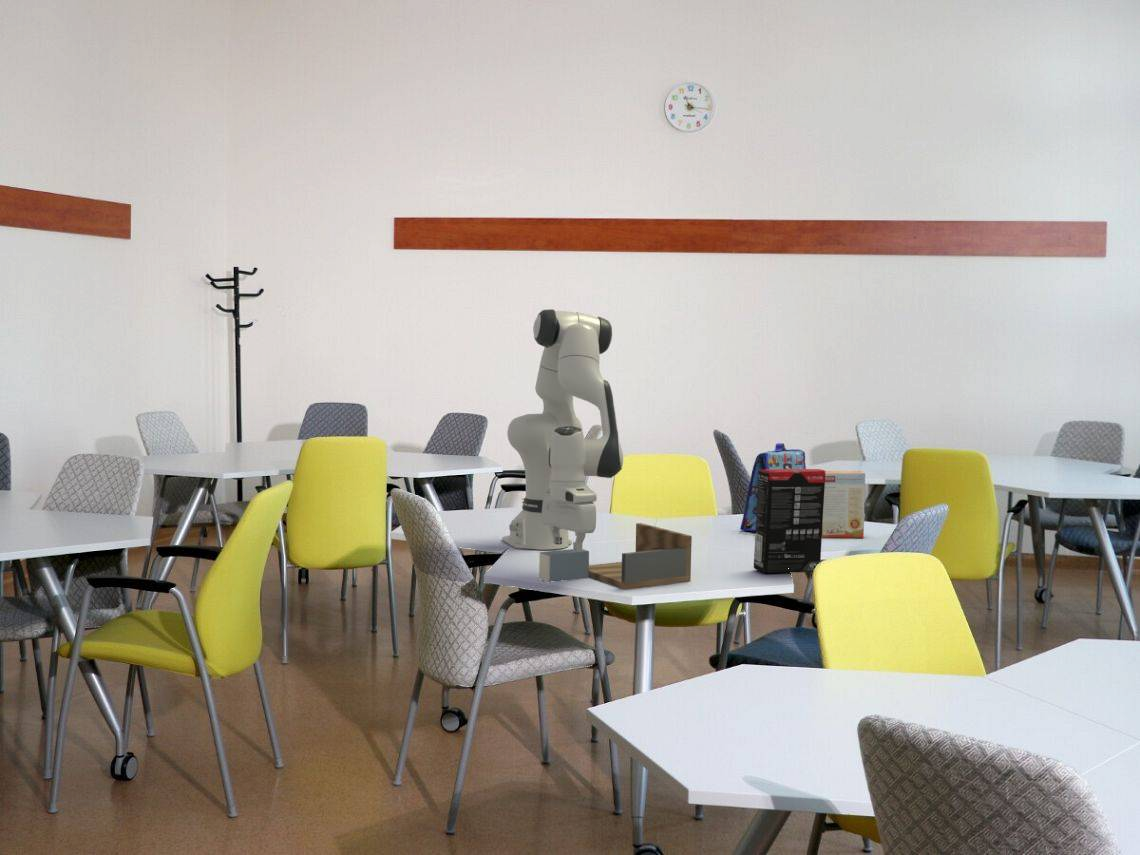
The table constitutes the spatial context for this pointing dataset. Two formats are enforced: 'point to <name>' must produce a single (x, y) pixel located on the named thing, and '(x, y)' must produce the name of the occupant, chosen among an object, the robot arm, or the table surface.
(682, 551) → the grey thin upright panel
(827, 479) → the cracker box
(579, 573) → the grey rectangular box
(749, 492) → the lunch bag
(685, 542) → the shelf
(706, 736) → the table surface
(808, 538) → the graphics card box
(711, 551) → the table surface
